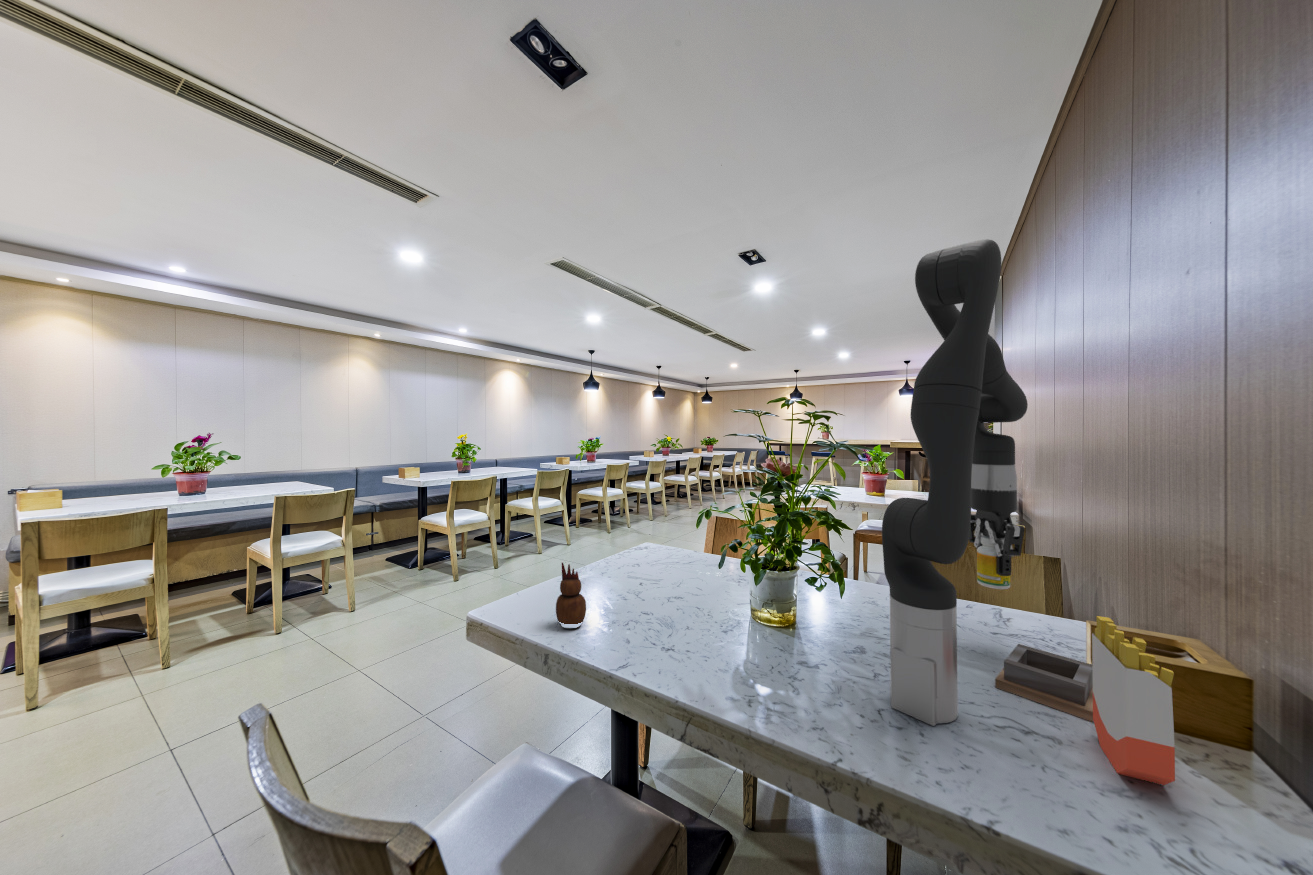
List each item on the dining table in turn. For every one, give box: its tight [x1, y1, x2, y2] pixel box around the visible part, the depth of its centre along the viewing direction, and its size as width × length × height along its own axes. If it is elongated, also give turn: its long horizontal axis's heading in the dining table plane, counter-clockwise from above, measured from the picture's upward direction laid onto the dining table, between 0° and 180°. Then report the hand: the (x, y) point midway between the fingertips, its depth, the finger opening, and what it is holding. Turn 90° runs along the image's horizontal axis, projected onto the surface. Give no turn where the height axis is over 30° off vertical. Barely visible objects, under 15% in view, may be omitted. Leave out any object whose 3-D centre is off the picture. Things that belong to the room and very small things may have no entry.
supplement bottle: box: [976, 536, 1011, 590], centre depth 88 cm, size 5×5×10 cm
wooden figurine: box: [555, 562, 587, 624], centre depth 102 cm, size 7×6×15 cm
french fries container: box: [1091, 615, 1176, 786], centre depth 58 cm, size 5×11×18 cm, turn 151°
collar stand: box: [994, 643, 1094, 723], centre depth 75 cm, size 12×12×4 cm
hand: (993, 570), depth 88 cm, fingers closed on supplement bottle, 5 cm apart
